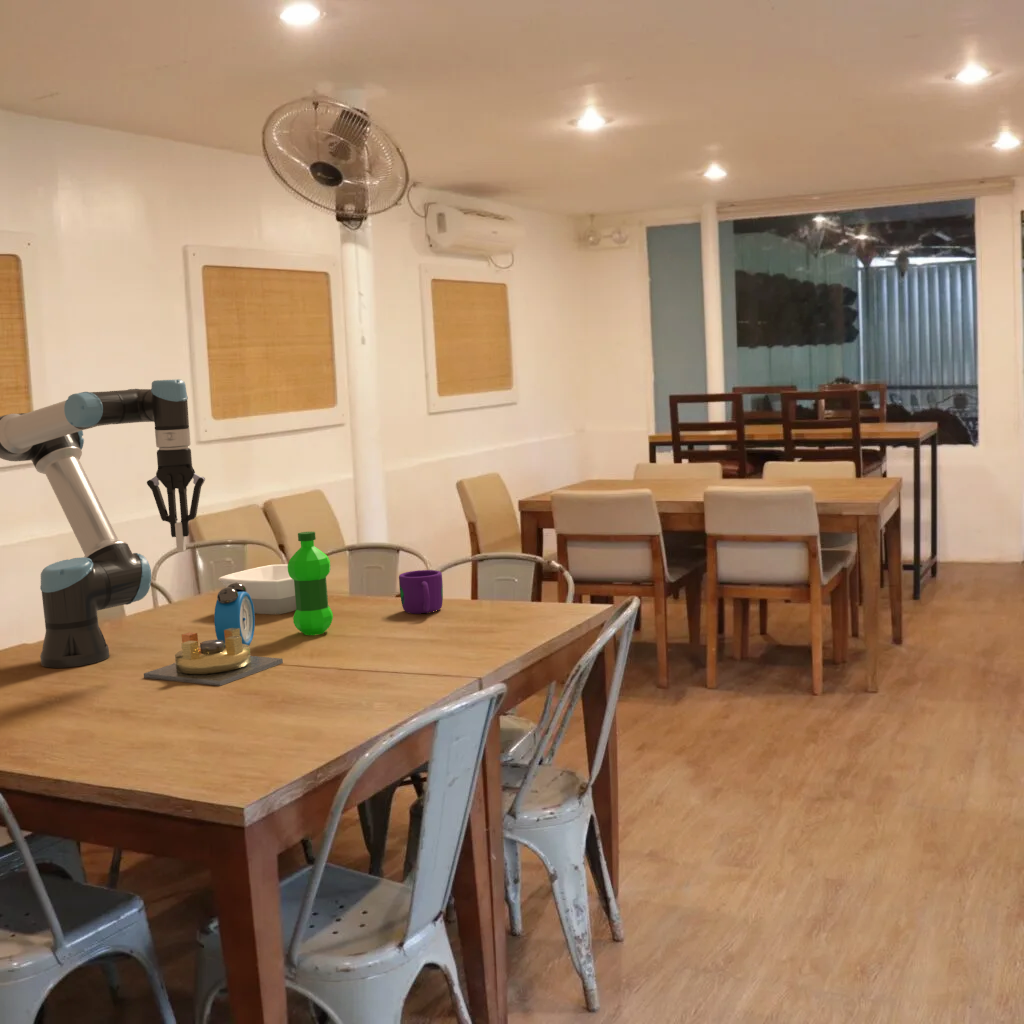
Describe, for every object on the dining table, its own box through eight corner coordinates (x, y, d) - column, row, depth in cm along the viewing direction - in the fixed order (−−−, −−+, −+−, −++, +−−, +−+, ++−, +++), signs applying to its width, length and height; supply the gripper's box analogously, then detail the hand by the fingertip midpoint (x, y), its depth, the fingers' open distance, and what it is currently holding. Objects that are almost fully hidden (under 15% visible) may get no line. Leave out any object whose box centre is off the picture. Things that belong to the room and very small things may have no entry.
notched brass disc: (215, 676, 258) (212, 646, 257) (160, 670, 266) (157, 641, 265) (266, 658, 271) (263, 629, 271) (212, 653, 279) (210, 625, 279)
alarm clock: (241, 653, 284) (236, 589, 282) (215, 654, 285) (210, 590, 283) (257, 640, 297) (252, 579, 295) (232, 641, 298) (227, 580, 296)
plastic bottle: (340, 633, 299) (332, 532, 296) (297, 639, 295) (289, 537, 292) (330, 626, 308) (323, 528, 305) (289, 632, 305) (280, 532, 302)
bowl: (341, 602, 341) (338, 566, 340) (279, 620, 320) (276, 582, 319) (276, 597, 354) (273, 563, 353) (213, 615, 333) (209, 578, 332)
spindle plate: (144, 677, 265) (143, 672, 265) (208, 656, 283) (208, 651, 283) (220, 685, 255) (219, 680, 254) (282, 662, 272) (282, 657, 272)
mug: (398, 608, 327) (396, 572, 325) (441, 604, 329) (438, 568, 328) (406, 621, 310) (403, 582, 308) (450, 617, 312) (448, 578, 311)
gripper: (140, 450, 273) (148, 555, 276) (199, 448, 274) (207, 552, 277) (148, 448, 280) (156, 549, 283) (205, 445, 281) (213, 546, 284)
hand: (181, 550), depth 280 cm, fingers closed
